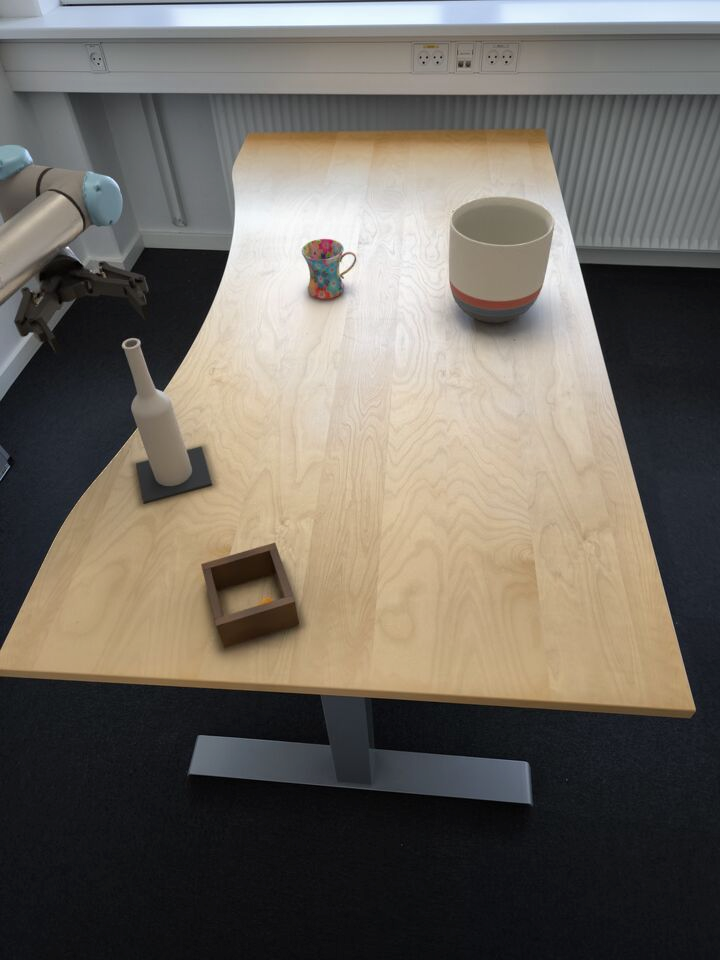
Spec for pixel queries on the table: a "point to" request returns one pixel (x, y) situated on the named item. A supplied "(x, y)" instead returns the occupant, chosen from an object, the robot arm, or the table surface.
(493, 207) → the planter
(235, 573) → the holder
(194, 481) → the mat
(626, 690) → the table surface
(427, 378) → the table surface
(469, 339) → the table surface
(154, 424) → the bottle
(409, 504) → the table surface
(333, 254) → the mug
